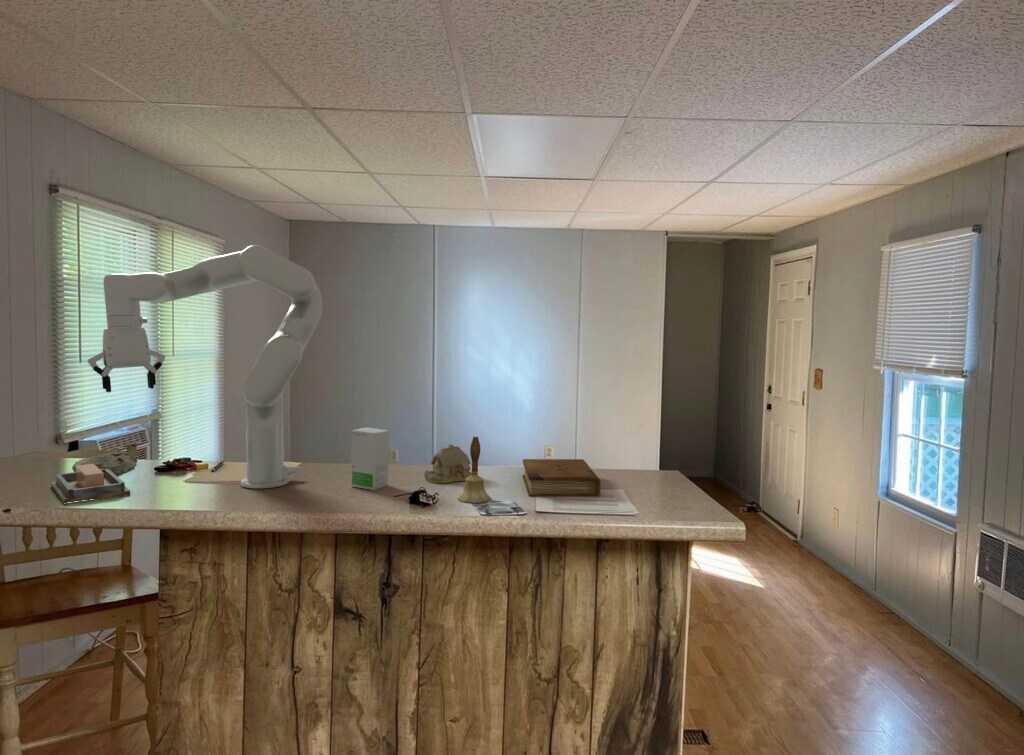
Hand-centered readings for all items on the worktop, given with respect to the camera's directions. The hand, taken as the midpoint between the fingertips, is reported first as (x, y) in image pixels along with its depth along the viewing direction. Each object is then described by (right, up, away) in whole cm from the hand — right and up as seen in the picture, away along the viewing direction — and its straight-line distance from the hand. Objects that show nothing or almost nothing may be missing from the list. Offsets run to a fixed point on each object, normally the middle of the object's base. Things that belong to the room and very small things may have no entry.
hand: (130, 389), depth 170 cm
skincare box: (+59, -27, +11) cm, 66 cm away
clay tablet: (-22, -25, +28) cm, 43 cm away
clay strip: (-11, -25, +2) cm, 28 cm away
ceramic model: (+80, -26, +21) cm, 87 cm away
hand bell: (+88, -28, -1) cm, 93 cm away
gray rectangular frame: (-11, -26, +2) cm, 29 cm away
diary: (+111, -28, +14) cm, 115 cm away
